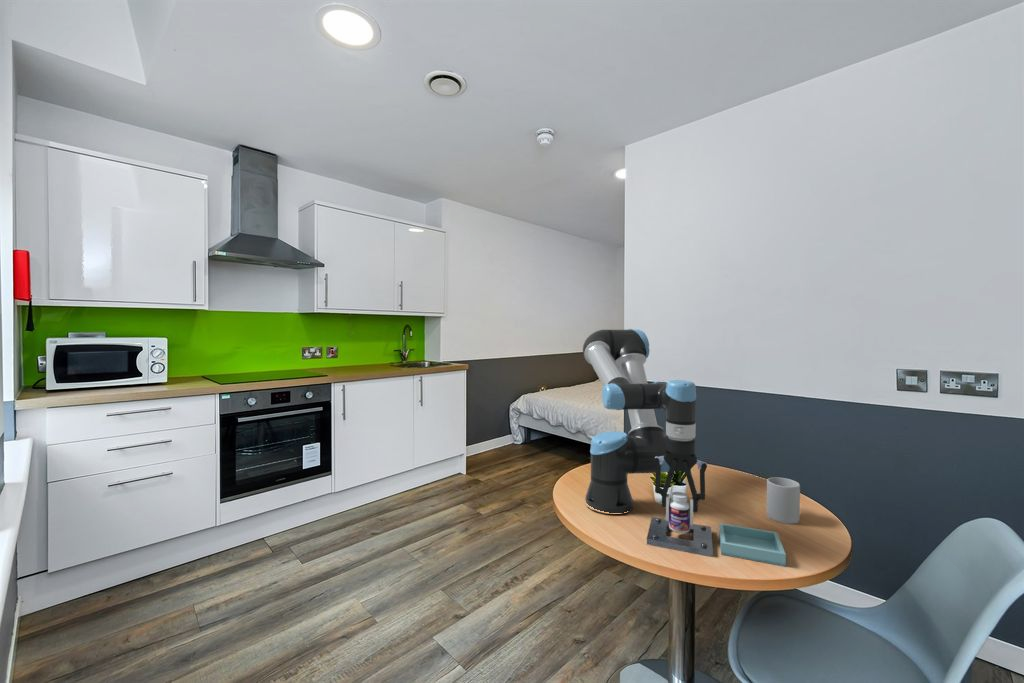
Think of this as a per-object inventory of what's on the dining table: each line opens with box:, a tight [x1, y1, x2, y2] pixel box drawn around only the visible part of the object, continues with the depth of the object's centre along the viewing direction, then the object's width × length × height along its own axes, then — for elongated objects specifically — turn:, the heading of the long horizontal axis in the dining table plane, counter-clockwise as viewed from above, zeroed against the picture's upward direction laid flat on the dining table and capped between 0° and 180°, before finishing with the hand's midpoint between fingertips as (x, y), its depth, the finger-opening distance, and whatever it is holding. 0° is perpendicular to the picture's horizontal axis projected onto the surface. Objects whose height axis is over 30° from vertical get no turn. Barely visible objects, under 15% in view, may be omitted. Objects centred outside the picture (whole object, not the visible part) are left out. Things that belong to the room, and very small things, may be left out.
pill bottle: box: [669, 491, 690, 534], centre depth 117 cm, size 5×5×10 cm
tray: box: [718, 522, 787, 567], centre depth 111 cm, size 14×12×3 cm
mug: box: [765, 476, 801, 525], centre depth 130 cm, size 12×8×11 cm
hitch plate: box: [646, 516, 714, 558], centre depth 117 cm, size 16×14×2 cm
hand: (679, 520), depth 117 cm, fingers closed on pill bottle, 5 cm apart
